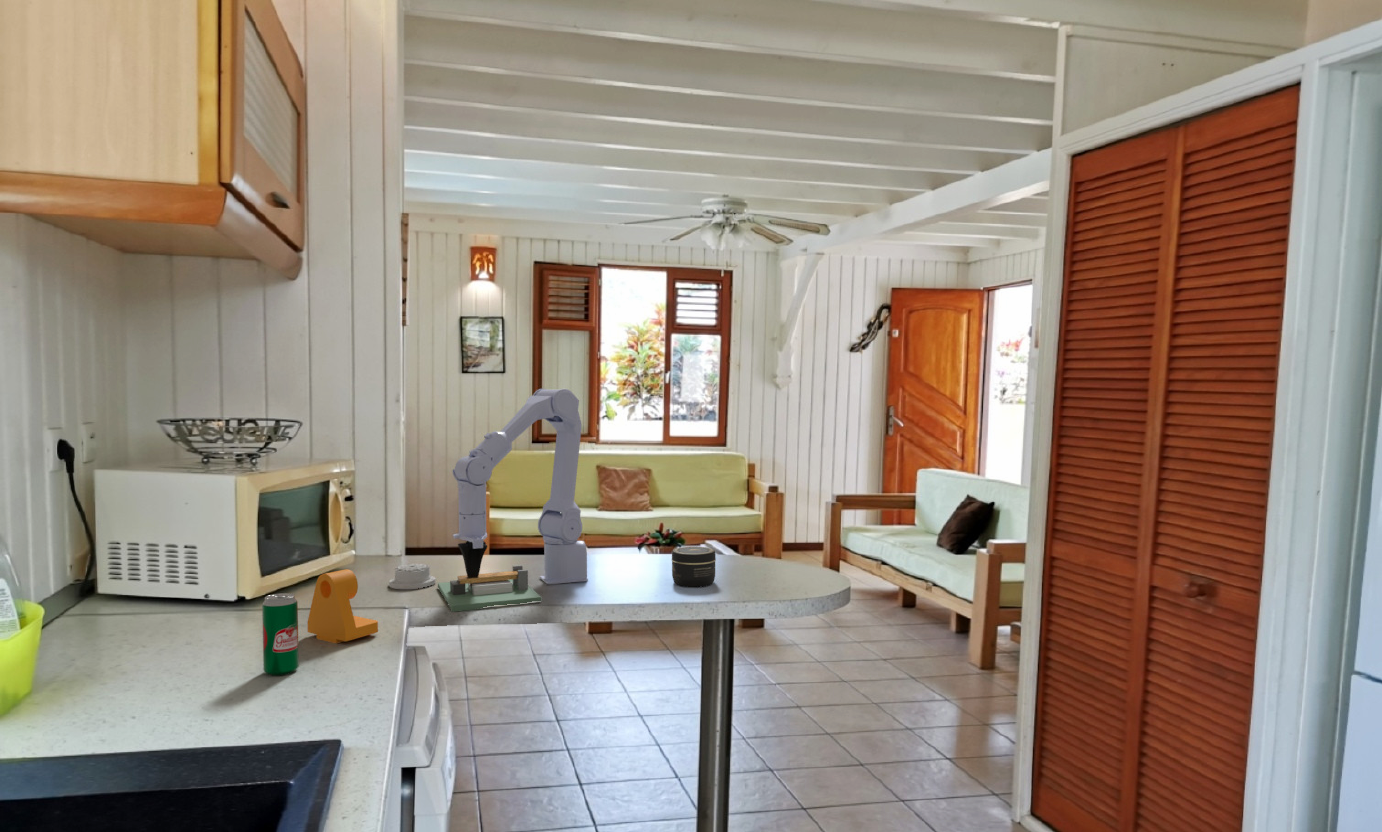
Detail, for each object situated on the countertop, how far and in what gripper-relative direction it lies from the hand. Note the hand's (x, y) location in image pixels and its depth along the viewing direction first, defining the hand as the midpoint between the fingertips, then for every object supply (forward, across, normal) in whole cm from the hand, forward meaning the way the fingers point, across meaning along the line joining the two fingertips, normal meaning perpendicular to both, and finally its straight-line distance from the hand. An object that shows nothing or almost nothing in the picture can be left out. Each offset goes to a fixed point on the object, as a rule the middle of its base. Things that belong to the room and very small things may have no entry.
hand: (472, 576), depth 189 cm
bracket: (+5, +21, -26) cm, 34 cm away
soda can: (+5, +38, -36) cm, 52 cm away
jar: (+4, +7, +48) cm, 49 cm away
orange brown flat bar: (+1, 0, +4) cm, 4 cm away
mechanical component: (+5, -17, -11) cm, 21 cm away
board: (+4, 0, +3) cm, 5 cm away
